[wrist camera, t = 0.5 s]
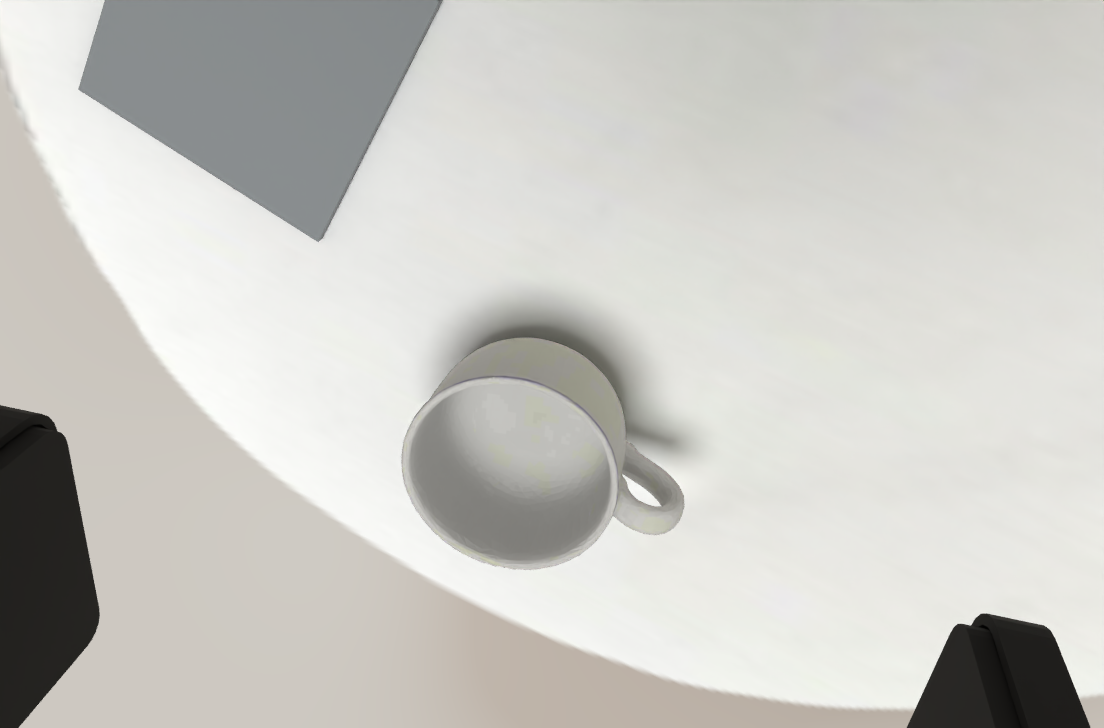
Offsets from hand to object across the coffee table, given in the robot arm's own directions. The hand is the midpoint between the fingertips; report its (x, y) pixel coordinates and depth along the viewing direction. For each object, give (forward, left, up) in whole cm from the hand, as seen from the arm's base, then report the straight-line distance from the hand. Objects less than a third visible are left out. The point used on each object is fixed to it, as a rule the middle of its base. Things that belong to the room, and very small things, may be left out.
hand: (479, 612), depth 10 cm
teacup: (+19, +6, -35) cm, 41 cm away
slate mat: (+11, -17, -35) cm, 41 cm away
